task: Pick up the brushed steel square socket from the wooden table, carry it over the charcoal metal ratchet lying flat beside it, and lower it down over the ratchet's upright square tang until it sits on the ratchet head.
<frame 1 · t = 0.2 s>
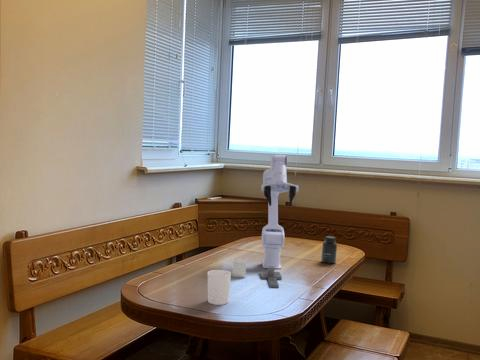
hand: (280, 204, 187), 31 cm above the table, tool tilted 45°, fingers open, 7 cm apart
socket: (238, 275, 200), on the table
white cup: (218, 302, 166), on the table
supplement bottle: (328, 262, 231), on the table
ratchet: (270, 277, 201), on the table
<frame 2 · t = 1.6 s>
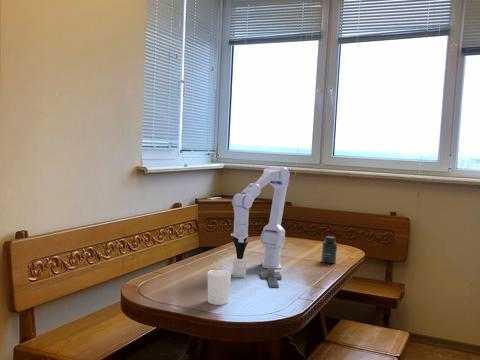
hand: (239, 256, 199), 8 cm above the table, tool pointing down, fingers open, 7 cm apart
nothing on the table moved.
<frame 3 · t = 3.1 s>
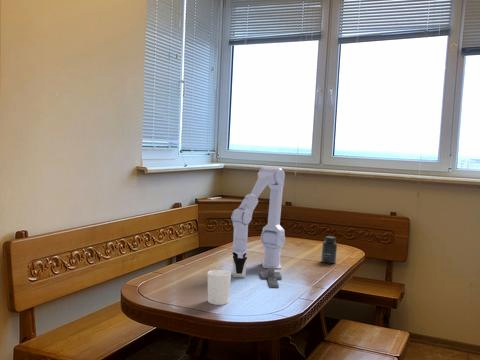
hand: (238, 271, 200), 2 cm above the table, tool pointing down, fingers closed on socket, 5 cm apart
socket: (238, 275, 200), on the table, touching gripper
everything else where it was.
when the fingers open (3 cm above the table, at t = 7.0 s): socket stays where it is, point 1 cm above the table.
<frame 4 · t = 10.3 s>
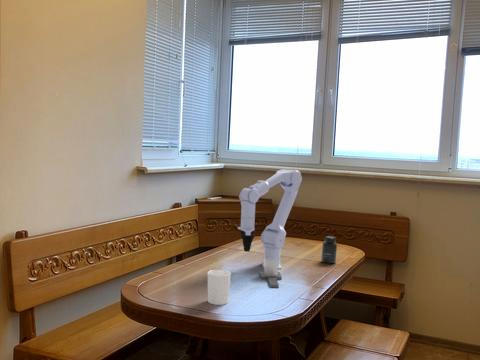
hand: (246, 249, 206), 9 cm above the table, tool pointing down, fingers open, 7 cm apart
socket: (270, 274, 201), point 1 cm above the table
everything else where it was.
at the end: socket 0.1 cm from the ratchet (horizontally); socket point 1.1 cm above the table; socket tilted 1° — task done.
